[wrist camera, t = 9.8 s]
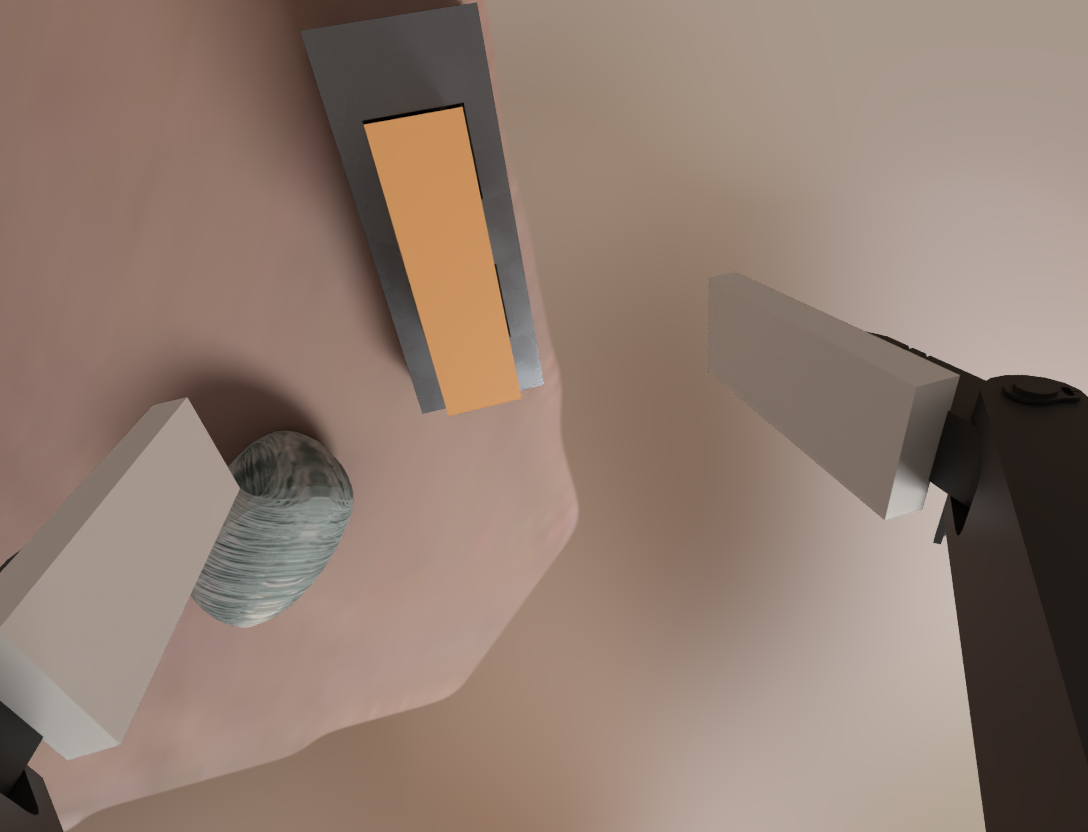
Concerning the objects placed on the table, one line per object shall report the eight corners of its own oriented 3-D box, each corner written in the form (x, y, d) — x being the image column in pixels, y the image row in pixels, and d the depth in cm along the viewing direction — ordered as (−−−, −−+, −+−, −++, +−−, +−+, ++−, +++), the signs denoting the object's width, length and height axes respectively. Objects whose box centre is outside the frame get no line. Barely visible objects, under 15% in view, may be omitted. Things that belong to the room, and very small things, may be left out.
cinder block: (421, 386, 37) (422, 413, 34) (314, 42, 27) (299, 30, 23) (532, 360, 38) (544, 384, 34) (469, 16, 28) (476, 2, 24)
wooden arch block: (438, 328, 35) (448, 416, 24) (382, 123, 29) (363, 124, 18) (490, 317, 35) (521, 398, 25) (445, 111, 29) (462, 106, 19)
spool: (225, 397, 31) (246, 552, 27) (367, 419, 38) (403, 544, 34) (146, 514, 37) (152, 656, 33) (282, 514, 45) (303, 630, 40)
